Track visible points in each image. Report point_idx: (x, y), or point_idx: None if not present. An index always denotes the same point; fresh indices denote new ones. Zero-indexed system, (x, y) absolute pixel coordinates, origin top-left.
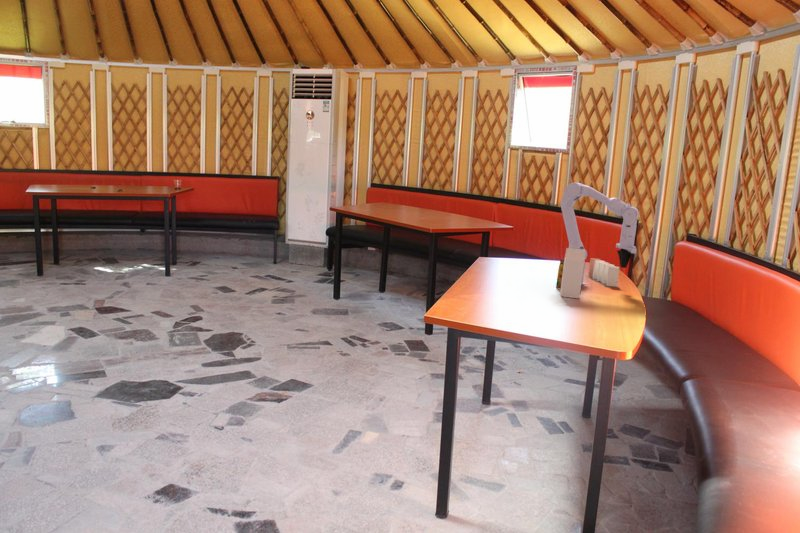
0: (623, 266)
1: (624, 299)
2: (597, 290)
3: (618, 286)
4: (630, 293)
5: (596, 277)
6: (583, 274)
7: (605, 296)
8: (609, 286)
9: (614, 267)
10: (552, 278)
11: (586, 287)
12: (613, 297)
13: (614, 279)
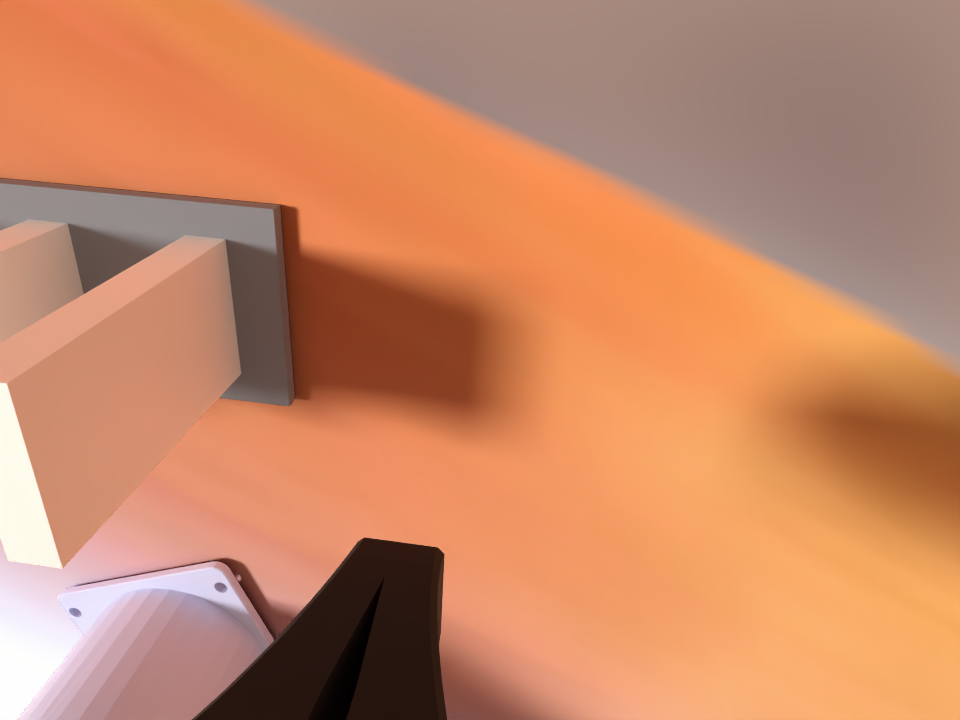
0: (438, 635)
1: (954, 537)
2: (482, 584)
3: (218, 209)
4: (606, 233)
5: None
6: (176, 710)
7: (779, 656)
8: (269, 361)
9: (45, 484)
10: (25, 707)
11: None
12: (834, 603)
13: (178, 332)
